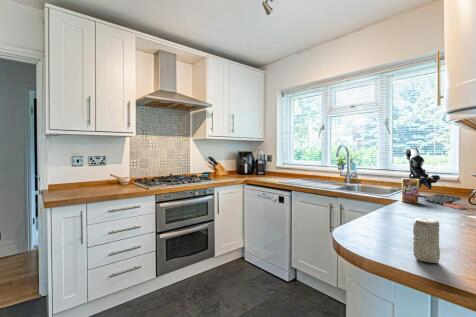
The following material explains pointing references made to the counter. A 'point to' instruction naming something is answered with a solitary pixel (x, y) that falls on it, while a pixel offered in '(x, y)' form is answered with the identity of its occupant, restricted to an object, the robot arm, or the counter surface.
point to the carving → (426, 240)
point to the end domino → (455, 205)
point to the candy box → (410, 190)
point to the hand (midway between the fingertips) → (430, 188)
